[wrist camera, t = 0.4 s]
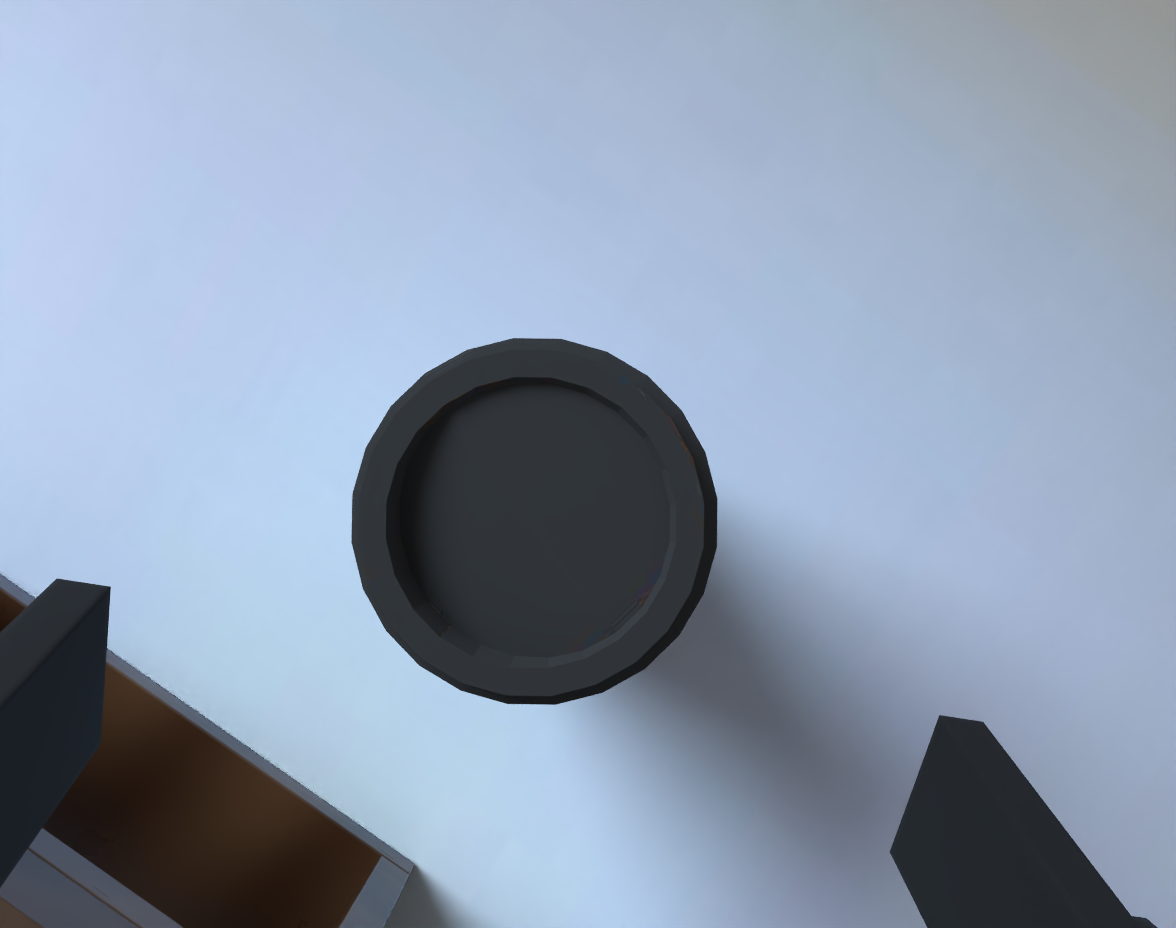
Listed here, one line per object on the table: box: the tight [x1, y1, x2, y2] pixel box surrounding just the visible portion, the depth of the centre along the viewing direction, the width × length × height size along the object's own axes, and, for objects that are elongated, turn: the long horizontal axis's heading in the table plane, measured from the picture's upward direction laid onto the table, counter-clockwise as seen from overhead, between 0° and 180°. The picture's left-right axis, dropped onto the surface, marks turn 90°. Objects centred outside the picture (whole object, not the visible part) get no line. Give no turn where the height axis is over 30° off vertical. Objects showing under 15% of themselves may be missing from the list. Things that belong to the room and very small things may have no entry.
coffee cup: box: [352, 338, 717, 705], centre depth 28 cm, size 8×8×15 cm
